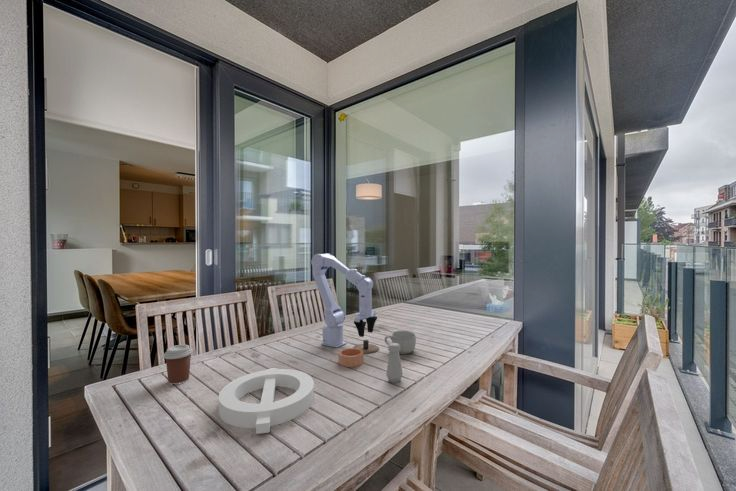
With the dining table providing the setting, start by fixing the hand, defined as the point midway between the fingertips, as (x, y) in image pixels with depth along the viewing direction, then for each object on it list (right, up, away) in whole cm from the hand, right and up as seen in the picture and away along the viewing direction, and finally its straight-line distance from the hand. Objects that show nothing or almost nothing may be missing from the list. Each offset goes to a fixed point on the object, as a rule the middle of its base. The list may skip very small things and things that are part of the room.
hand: (365, 334), depth 144 cm
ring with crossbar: (-30, -9, -46) cm, 56 cm away
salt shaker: (+10, -8, -32) cm, 35 cm away
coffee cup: (-67, -8, -31) cm, 74 cm away
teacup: (+15, -7, -4) cm, 17 cm away
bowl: (-6, -7, -15) cm, 18 cm away
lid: (0, -7, 0) cm, 7 cm away
